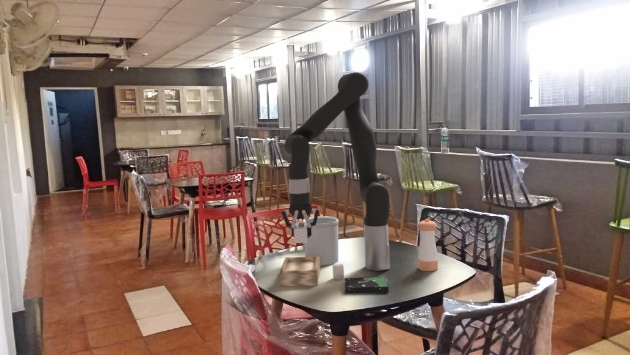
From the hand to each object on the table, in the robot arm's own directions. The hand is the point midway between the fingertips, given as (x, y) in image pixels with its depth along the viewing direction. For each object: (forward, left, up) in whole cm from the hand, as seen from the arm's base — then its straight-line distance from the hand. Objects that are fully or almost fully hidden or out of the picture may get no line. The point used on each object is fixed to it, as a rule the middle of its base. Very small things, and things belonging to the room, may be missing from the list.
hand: (302, 237), depth 175 cm
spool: (-13, -1, -16) cm, 21 cm away
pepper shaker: (-47, -10, -16) cm, 50 cm away
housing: (0, 0, -1) cm, 1 cm away
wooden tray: (+1, -3, -16) cm, 17 cm away
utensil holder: (-6, -24, -17) cm, 30 cm away
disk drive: (-22, +10, -17) cm, 30 cm away
